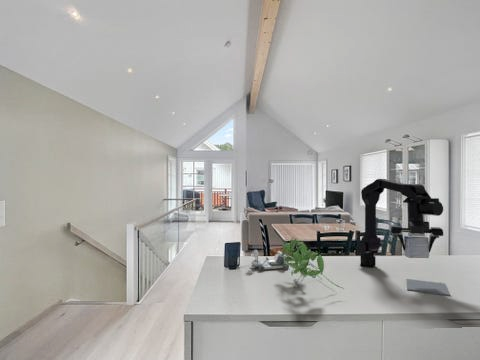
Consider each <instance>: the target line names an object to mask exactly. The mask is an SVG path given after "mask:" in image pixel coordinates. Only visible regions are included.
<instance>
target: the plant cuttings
mask: <svg viewBox="0 0 480 360" xmlns="http://www.w3.org/2000/svg"><path fill="white" fill-rule="evenodd" d="M295 247H296V249H297V250H295ZM283 255H286V258H285V260H284V261H285V262H286V261H287V262H286V263H287V265H288V266H289V267H291V268H292V270H291V271H290V274H291V276H294V275H297V274H298V273H300V274H301V275H300V276H299V278H298V279H296V278H294V279H293V281H292V283H293V284H294V286H295V288H298V287H300V286H301V283H302V282H303V280H304V279H305V278H306V277H308V276H309V277H311V278H312V279H315V280H316V281H318V282H319V283H320V284H322V285H323V286H324V287H326V288H328V289H330V290H331V291H333V292H334V293H336V291H335V290H334V289H332V288H331V287H329V286H327V285H326V284H324V283H323V282H321V281H319V280H317V279H316V278H317V277H318V278H320V279H321V280H322V279H323V278H322V277H320V276H319V275H322V276H323V277H324V278H325V279H326V280H328V282H330V283H331V284H333V285H334V286H336V287H338V288H341V289H345V288H344V287H341V286H340V285H337V284H336V283H334V282H333V281H331V280H330V279H329V278H328V277H326V276H325V275H324V274H323V273H324V269H325V261H324V259H323V256H322V255H321V253H320V251H319V252H315V251H313V250H311V249H308V247H307V245H306V244H305V242H304V240H303V241H300V240H298V238H293V237H292V238H291V239H290V242H288V243H287V242H286V243H284V244H283V245H282V254H281V256H283ZM310 261H312V262H313V261H316V262H317V266H316V265H314V264H313V263H311V262H310ZM287 265H286V267H287ZM308 266H310V267H312V268H313V269H312V268H310V267H308ZM302 277H303V278H302ZM301 278H302V279H301ZM300 279H301V280H300Z"/></svg>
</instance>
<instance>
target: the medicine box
mask: <svg viewBox="0 0 480 360" xmlns="http://www.w3.org/2000/svg"><path fill="white" fill-rule="evenodd" d="M403 240H404V246H405V251H404V256H405V257H406V258H408V259H429V258H430V252H429V237H427V236H425V235H404V236H403Z"/></svg>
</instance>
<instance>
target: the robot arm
mask: <svg viewBox="0 0 480 360" xmlns="http://www.w3.org/2000/svg"><path fill="white" fill-rule="evenodd" d="M385 189H386V190H389V191H390V190H391V191H394V192H397V193H400V194H401V195H402V196H404V197H405V199H404V200H403V201H402V203H405V204H407V205H406V206H407V227H402V226H401V225H391V227H390V233H391V234H394V236H397V238H398V240H399V241H400V244H401V246H402V249H403V251H404V252H405V243H404V236H403V233H410V234H413V235H414V234H419V235H424V234H429V237H428V238H429V253H431V250H432V249H433V248H432V247H433V244H434V243H435V240H436V239H438V238H440V237H443V236H444V229H442V228H441V227H437V226H431V227H430V222H429V221H425V220H424V216H425V215H426V216H441V215H442V214H443V212H444V206H443V203H442V202H441V201H440V199H439V197H438V198H437V197H435V198H432V197H431V195H430V194H429V193H428V191H427V190H426V188H425V186H424V184H420V183H402V182H398V181H394V180H389V179H387V178H377V179H375V180H374V181H373V182H371V183H369V184H367V185H366V186H364V187H363V188H362V189H361V193H360V194H361V200H362V202H363V203H364V234H363V236H362V237H361V241H360V245H358V247H357V248H356V251H357V254H360V265H359V266H361V267H365V268H367V267H368V268H375V267H376V265H377V262H376V260H377V258H376V256H375V254H378V251H379V249H380V247H381V237H378V235H377V232H376V231H377V230H376V229H377V227H376V226H377V204H378V203H379V201H380V196H381V194H383V193H384V190H385Z"/></svg>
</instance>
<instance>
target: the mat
mask: <svg viewBox="0 0 480 360" xmlns="http://www.w3.org/2000/svg"><path fill="white" fill-rule="evenodd" d="M406 290H407V291H409V292H418V293H424V294H433V295H437V296H438V295H439V296H447V297H451V293H450V291H449V289H448V286H447V284H446V283H444V282H443V283H442V282H436V281H435V282H434V281H426V280H420V279H412V278H411V279H410V278H406Z"/></svg>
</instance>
